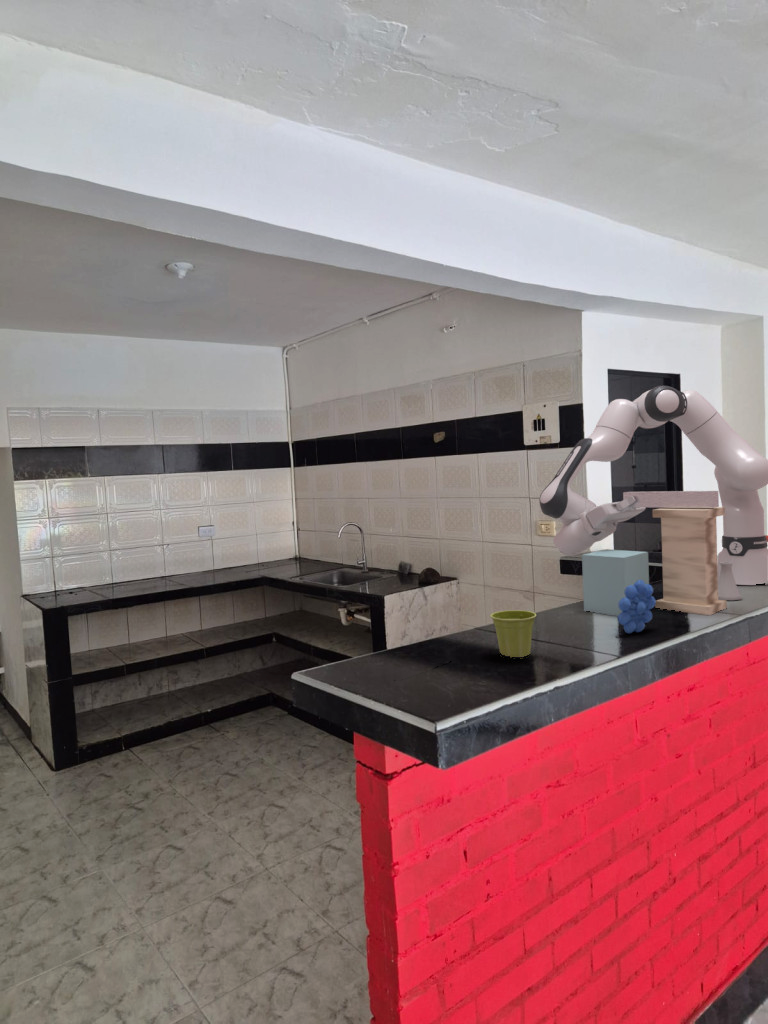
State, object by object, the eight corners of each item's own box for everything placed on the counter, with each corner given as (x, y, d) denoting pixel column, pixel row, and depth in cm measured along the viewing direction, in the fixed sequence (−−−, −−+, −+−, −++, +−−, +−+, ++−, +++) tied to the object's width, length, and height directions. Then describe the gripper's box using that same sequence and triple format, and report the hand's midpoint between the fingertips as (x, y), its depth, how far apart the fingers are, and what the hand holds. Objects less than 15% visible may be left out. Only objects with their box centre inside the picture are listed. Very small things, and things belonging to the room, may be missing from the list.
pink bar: (630, 506, 190) (629, 491, 189) (718, 506, 171) (718, 490, 171) (623, 507, 187) (623, 492, 187) (712, 507, 169) (712, 491, 169)
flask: (747, 600, 183) (746, 563, 182) (719, 601, 183) (718, 564, 182) (733, 595, 190) (733, 560, 190) (707, 596, 190) (706, 561, 190)
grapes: (639, 625, 163) (637, 575, 162) (663, 630, 157) (662, 578, 156) (605, 633, 157) (603, 581, 156) (629, 638, 151) (627, 585, 150)
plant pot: (484, 653, 145) (482, 613, 145) (521, 647, 149) (520, 607, 148) (507, 664, 137) (505, 621, 136) (547, 657, 140) (545, 615, 140)
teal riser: (608, 603, 188) (606, 549, 187) (649, 608, 179) (648, 552, 178) (583, 611, 181) (581, 554, 180) (625, 617, 171) (623, 557, 170)
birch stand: (673, 602, 186) (671, 506, 184) (726, 608, 175) (724, 507, 173) (655, 608, 179) (652, 509, 177) (709, 615, 169) (706, 510, 167)
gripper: (625, 528, 201) (664, 504, 191) (586, 535, 187) (625, 510, 178) (615, 509, 203) (652, 485, 193) (575, 515, 189) (613, 490, 180)
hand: (639, 497), depth 185 cm, fingers closed on pink bar, 3 cm apart
